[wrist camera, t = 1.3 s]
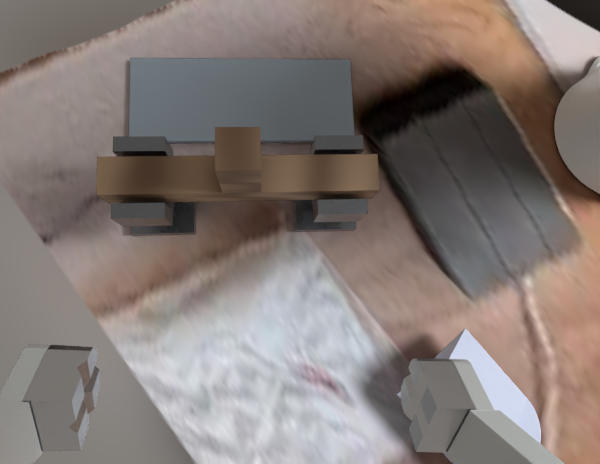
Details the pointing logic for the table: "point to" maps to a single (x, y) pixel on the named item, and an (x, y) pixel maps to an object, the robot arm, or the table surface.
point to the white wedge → (494, 383)
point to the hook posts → (183, 214)
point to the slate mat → (240, 98)
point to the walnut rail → (236, 174)
